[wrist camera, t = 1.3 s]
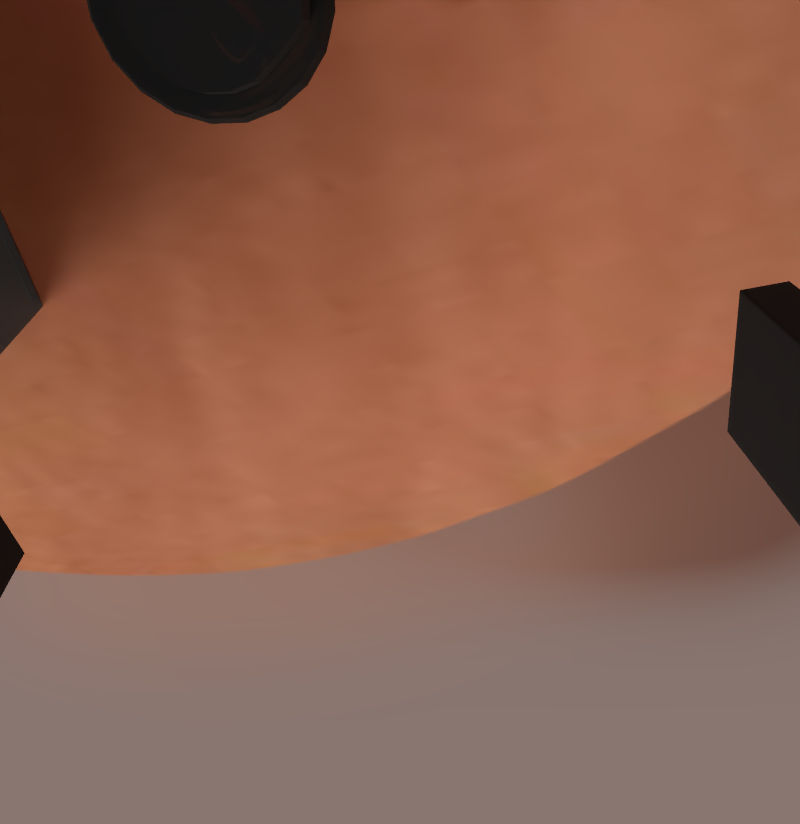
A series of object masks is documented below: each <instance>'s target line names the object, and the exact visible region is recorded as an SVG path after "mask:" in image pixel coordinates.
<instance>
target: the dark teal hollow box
mask: <svg viewBox="0 0 800 824" xmlns="http://www.w3.org/2000/svg"><path fill="white" fill-rule="evenodd" d="M41 308H42V303H41V301H40V299H39V297H38V294H37V292H36V290H35V288H34V285H33V283H32V281H31V279H30V276H29V274H28V272H27V270H26V268H25V265H24V263H23V261H22V259H21V256H20V254H19V252H18V250H17V247H16V245H15V243H14V241H13V238H12V236H11V234H10V232H9V229H8V227H7V225H6V223H5V221H4V218H3V216H2V214H1V212H0V354H1V353H2V352H3V350H4V349H5V348H6V347H7V346H8V345H9V344H10V343H11V342H12V340H13V339H14V338H15V337H16V336H17V335H18V334H19V333H20V331H21V330H22V329H23V328H24V327H25V326H26V325H27V324H28V322H29V321H30V320H31V319H32V318H33V317H34V316H35V315H36V313H37V312H38V311H39V310H40V309H41Z"/></svg>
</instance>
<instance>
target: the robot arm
mask: <svg viewBox="0 0 800 824" xmlns="http://www.w3.org/2000/svg"><path fill="white" fill-rule="evenodd" d="M728 421H729V422H728V432H729V434H730V435H731V437H732V438H733V439H734V441H735V442H736V443H737V445H738V446H739V447H740V448H741V450H742V451H743V452H744V454H745V455H746V456H747V457H748V459H749V460H750V461H751V463H752V464H753V465H754V467H755V468H756V469H757V470H758V472H759V473H760V474H761V476H762V477H763V478H764V480H765V481H766V482H767V484H768V485H769V486H770V487H771V489H772V490H773V491H774V493H775V494H776V495H777V497H778V498H779V499H780V500H781V502H782V503H783V505H784V506H785V507H786V508H787V510H788V511H789V512H790V514H791V515H792V516H793V518H794V519H795V520H796V521H797V523H798V524H799V525H800V289H799V288H797V287H796V286H795V285H793V284H792V283H791V282H789V281H788V282H783V283H777V284H772V285H766V286H761V287H756V288H750V289H745V290H740V297H739V308H738V319H737V330H736V341H735V353H734V364H733V375H732V387H731V398H730V409H729V420H728ZM23 555H24V552H23V550H22V548H21V547H20V545H19V544H18V542H17V541H16V539H15V538H14V536H13V534H12V533H11V531H10V530H9V528H8V527H7V525H6V524H5V522H4V521H3V519H2V517H1V516H0V597H1V595H2V593H3V592H4V590H5V588H6V586H7V584H8V582H9V580H10V579H11V576H12V575H13V573H14V571H15V570H16V568H17V566H18V564H19V562H20V560H21V559H22V557H23Z"/></svg>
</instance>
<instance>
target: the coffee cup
mask: <svg viewBox="0 0 800 824" xmlns="http://www.w3.org/2000/svg"><path fill="white" fill-rule="evenodd" d="M87 4H88V8H89V13H90V17H91V20H92V22H93V24H94V26H95V28H96V30H97V32H98V34H99V36H100V38H101V39H102V41H103V43H104V45H105V47H106V49H107V51H108V53H109V55H110V57H111V59H112V60H113V61H114V62H115V63H116V65H117V66H118V67H119V68H120V69H121V70H122V71H123V72H124V73H125V74H126V76H127V77H128V78H129V79H130V80H131V81H132V82H133V83H134V84H135V86H136V87H137V88H138V89H139V90H140V91H141V92H142V93H144V94H146V95H147V96H149V97H150V98H152V99H153V100H155V101H157V102H158V103H160V104H161V105H163V106H164V107H166V108H167V109H169V110H171V111H172V112H174V113H175V114H179V115H182V116H186V117H189V118H193V119H196V120H200V121H203V122H207V123H210V124H220V123H245V122H250V121H252V120H255V119H257V118H260V117H262V116H265V115H267V114H270V113H272V112H275V111H277V110H280V109H281V108H282V107H283V106H284V105H286V104H287V103H288V102H289V101H290V100H291V99H292V98H293V97H295V96H296V95H297V94H298V93H299V92H300V91H301V90H302V89H304V88H305V87H306V86H307V85H308V83H309V81H310V80H311V78H312V76H313V74H314V73H315V71H316V69H317V67H318V65H319V64H320V62H321V60H322V58H323V57H324V55H325V53H326V51H327V46H328V42H329V37H330V32H331V28H332V23H333V18H334V14H335V0H87Z"/></svg>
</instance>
